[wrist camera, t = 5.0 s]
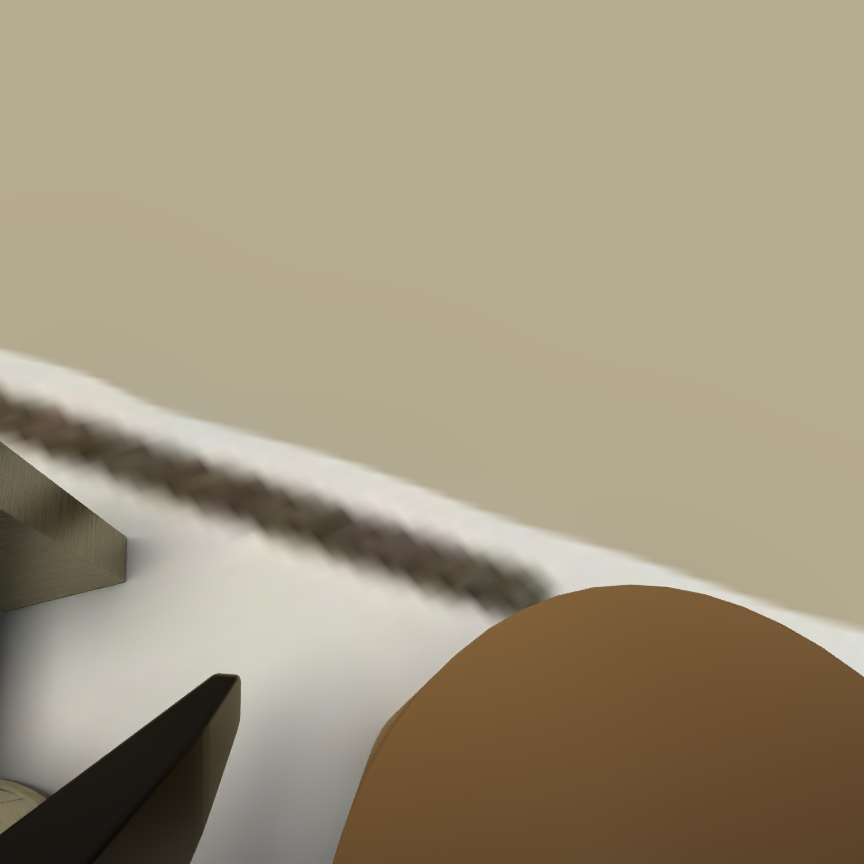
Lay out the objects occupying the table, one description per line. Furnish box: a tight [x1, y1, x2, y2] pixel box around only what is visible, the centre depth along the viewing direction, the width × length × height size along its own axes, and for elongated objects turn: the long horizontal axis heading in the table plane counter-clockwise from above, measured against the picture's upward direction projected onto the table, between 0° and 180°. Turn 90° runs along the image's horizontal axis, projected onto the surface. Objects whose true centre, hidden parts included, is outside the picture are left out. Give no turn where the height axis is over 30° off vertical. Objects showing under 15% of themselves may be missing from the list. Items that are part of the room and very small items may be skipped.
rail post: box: [332, 585, 864, 864], centre depth 8 cm, size 4×4×13 cm
